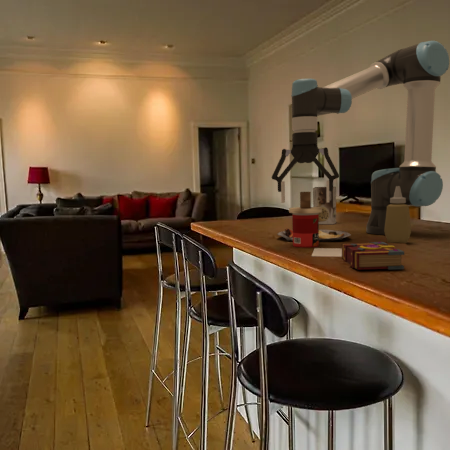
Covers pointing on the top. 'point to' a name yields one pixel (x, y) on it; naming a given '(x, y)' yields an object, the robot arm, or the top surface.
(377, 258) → the decorative book
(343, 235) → the food plate
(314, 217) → the canned food
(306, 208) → the lid
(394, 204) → the squeeze bottle
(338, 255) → the mat
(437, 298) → the top surface
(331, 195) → the coffee box
